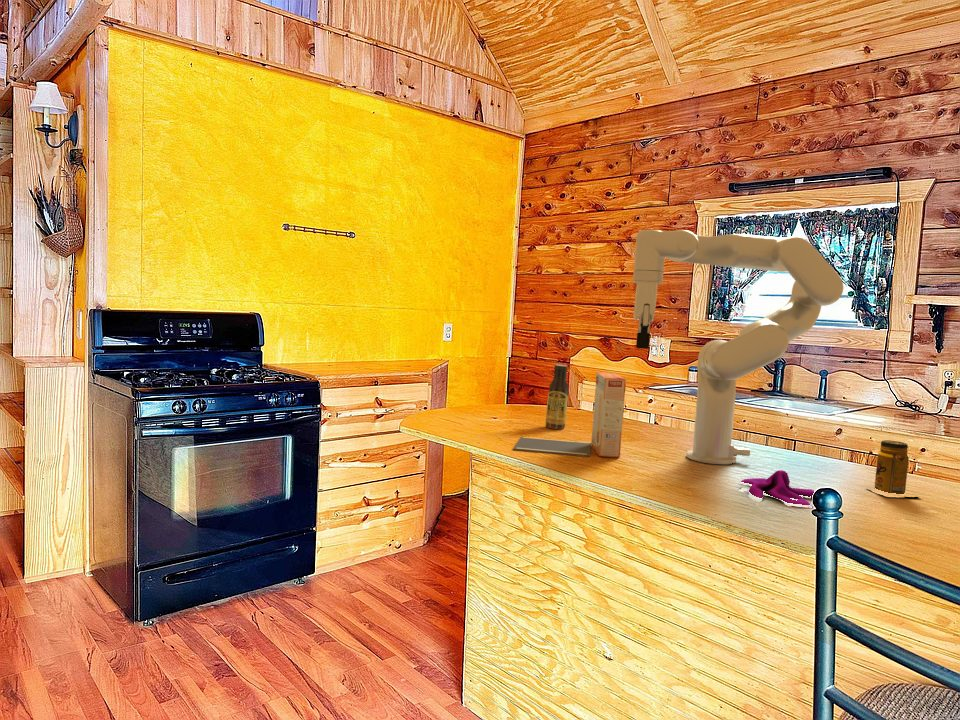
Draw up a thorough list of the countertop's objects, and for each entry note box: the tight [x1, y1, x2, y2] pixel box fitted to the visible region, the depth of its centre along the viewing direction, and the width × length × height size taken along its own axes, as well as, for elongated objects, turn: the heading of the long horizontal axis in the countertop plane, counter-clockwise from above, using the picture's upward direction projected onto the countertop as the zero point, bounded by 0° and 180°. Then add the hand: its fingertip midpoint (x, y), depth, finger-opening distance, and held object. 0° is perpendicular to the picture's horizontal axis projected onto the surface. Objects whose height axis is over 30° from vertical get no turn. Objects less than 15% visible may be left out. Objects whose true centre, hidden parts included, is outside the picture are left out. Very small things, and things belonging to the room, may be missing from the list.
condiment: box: [874, 439, 910, 494], centre depth 156 cm, size 7×8×12 cm
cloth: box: [740, 469, 815, 509], centre depth 151 cm, size 22×19×6 cm
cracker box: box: [590, 371, 627, 458], centre depth 185 cm, size 14×6×21 cm, turn 179°
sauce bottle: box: [545, 364, 570, 430], centre depth 215 cm, size 7×6×20 cm
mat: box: [512, 436, 592, 458], centre depth 189 cm, size 20×16×1 cm
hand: (642, 348), depth 182 cm, fingers closed
